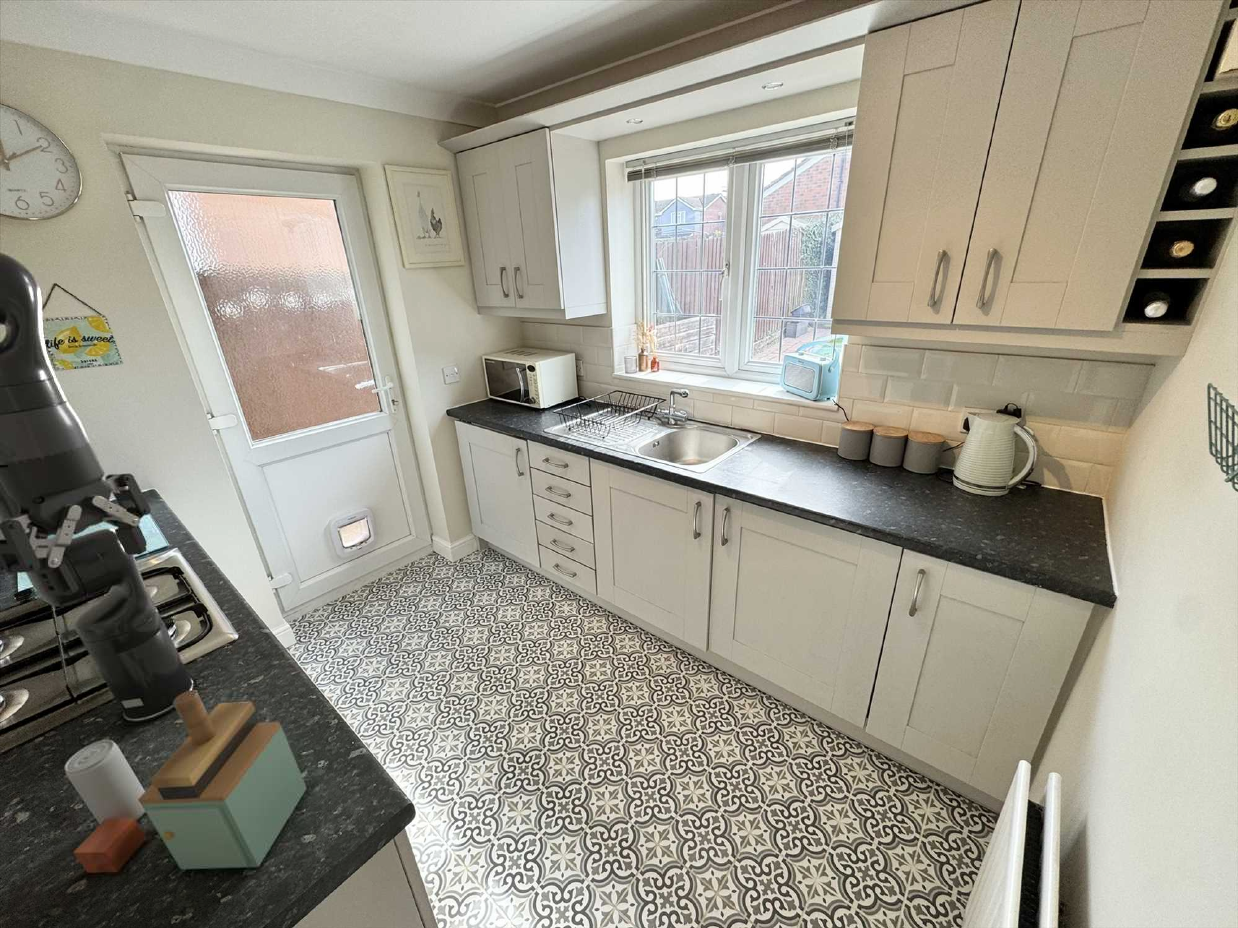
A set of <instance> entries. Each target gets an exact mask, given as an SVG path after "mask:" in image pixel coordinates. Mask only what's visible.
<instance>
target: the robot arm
mask: <svg viewBox="0 0 1238 928" xmlns="http://www.w3.org/2000/svg"><path fill="white" fill-rule="evenodd" d="M41 293H42V292H41V288H40V285H39V283H38V280H37V278H36V277H35V276H34V274H33V273H32V272H31V270H30V269H28V267H26V266H25V265H24V264H23V263H22V262H20V261H19V260H17V259H16V258H14V257H12V256H10V255H8V254H6V253H3V252H0V326H4V327H5V335H4V337H3V339H2V340H1V341H0V564H1V566H2V568H3V571H4V572H5V573H7V574H18V573H25V574H26V576H27V578H28V580H29V582H30V583H31V585H32V587H33V588H34V590H35V592H36V593H37V594H38V596H39V597H40V598H41V599H42V600H43V601H44V602H45V603H47V604H48V605H50V606H53V607H64V606H67V605H70V604H73V603H75V602H78V601H80V600H82V599H86V598H87V597H91V596H94V595H95V594H98V593H102V592H103V591H105V590H106V589H108V588H110V589H109V592H108V593H107V594H106V595H105V596H104V595H103V596H104V597H103V596H102V598H100V600H99V601H97V602H96V603H95V604H93V605H92V606H90V607H89V608H88V609H86V611H84V612H83V613H81V615H80V616H79V617H78V618H77V620H76V621H75V624H74V628H75V631H76V633H77V635H78V637H79V639H80V640H81V642H82V644H83V645H84V647H85V649H86V651H87V652H88V654H89V656H90V658H91V659H92V661H93V663H94V665H95V666H96V668H97V670H98V671H99V674H100V675H101V677H102V678H103V680H104V682H105V684H106V686H107V687H108V689H109V691H110V692H111V694H112V696H113V698H114V700H115V702H116V703H117V706H118V707H119V708H120V710H121V712H122V715H123V717H124V719H125V721H127V722H129V723H134V724H136V723H137V724H138V723H144V722H149V721H152V720H154V719H157V718H159V717H162V716H164V715H165V714H168V713H170V712H171V711H174V709H176V708H175V706H174V704H173V701H174V700H175V698H177V697H178V696H179V695H181V694H182V693H184V692H187V691H190V690H195V683H194V681H193V679H192V678H191V676H190V675H189V671H188V670H187V667H186V665H185V664H184V662H183V660H182V657H181V655H180V654H179V651H178V649H177V647H176V645H175V643H174V641H173V639H172V637H171V635H170V633H169V631H168V629H167V626H166V625H165V622H164V621H163V619H162V617H161V615H160V612H159V611H158V609H157V606H156V604H155V603H154V600H153V598H152V596H151V594H150V591H149V590H148V588H147V586H146V583H145V581H144V578H143V577H142V576H143V575H142V574H141V571H140V569H139V566H138V563H137V560H136V557H135V555H142V554H144V553H145V552H147V550H148V549H147V540H146V538H145V536H144V534H143V531H142V528H141V527H140V524H141V520H142V518H144V516H149V515H150V514H151V512H152V508H151V507H150V505H149V503H148V500H147V499H146V497H145V496H144V493H143V492H142V490H141V488H140V487H139V484H138V483H137V481H136V479H135V477H134V475H133V474H132V473H114V474H113V473H111V474H110V473H109V474H108V475H106V476H105V470H104V468H103V466H102V464H101V461H100V459H99V458H98V456H97V453H96V452H95V449H94V447H93V445H92V443H91V440H90V439H89V437H88V434H87V432H86V430H85V428H84V426H83V424H82V422H81V420H80V419H79V416H78V415H77V414H76V412H75V411H74V410H73V408H72V406H71V405H70V404H69V401H68V400H67V398H66V396H65V394H64V391H63V389H62V388H61V385H60V383H59V381H58V379H57V377H56V375H55V372H54V370H53V367H52V365H51V362H50V359H49V356H48V353H47V348H46V344H45V338H44V337H45V336H44V328H43V327H44V326H43V304H42V303H43V302H42V294H41ZM104 476H105V479H103V478H104ZM112 494H113V496H114V498H115V500H116V502H117V504H116V503H113V502H111V501H110V499H111V495H112ZM103 522H104V523H106V524H107V525H110V526H112V527H115V528H116V529H113V528H103V529H102V528H101V529H98V530H94V531H91V532H89V533H85V534H83V535H79V536H76V537H73V536H74V535H78V534H80V533H82V532H84V531H86V529H88V528H89V527H92V526H97V525H99V524H101V523H103ZM49 534H51V535H54V536H53V537H52V538H49Z"/></svg>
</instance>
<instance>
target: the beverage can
mask: <svg viewBox="0 0 1238 928" xmlns="http://www.w3.org/2000/svg"><path fill="white" fill-rule="evenodd" d="M64 771H65V775H66V777H67V778H68V780H69V781H70V783H71V784H72V786H73V787H74V788H75V790H76V792H77V793H78V794H79V796H80V797H81V799H82V801H83V802H84V804H85V805H86V806H87V808H88V809H89V810H90V813H91V814H92V816H93V817H94V818H95V819H96V822H98V824H99V825H100V824H101V823H102V822H103V821H104V820H105V819H132V818H134V819H135V820H136V821H137V822H138V820H139V819H140V818H142V817H143V815H144V814H146V812H145V810H144V809H143V807H142V805H141V804H140V802H139V800H138V799H139V798H140V797H141V796H142V795H143V794H144V792H145V791H146V790H145V789H144V788H143V785H142V784H141V783H140V781H139V779H138V778H137V775H136V774H135V773H134V771H133V769H132V767H131V765H130V764H129V763H128V761H127V759H126V758H125V755H124V753H122V750H121V748H120V747H119V746H118V744H117V743H116V742H115V741H113V740H112V739H102V740H98V741H95V742H93V743H90V744H89V745H87V746H84V747H83V748H82V749H79V750H78V751H77V752H76V753H74V754H73V755H72V756H71V757H70V758H69V759H67V761H66V763H65V765H64Z"/></svg>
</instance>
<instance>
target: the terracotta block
mask: <svg viewBox="0 0 1238 928" xmlns="http://www.w3.org/2000/svg"><path fill="white" fill-rule="evenodd" d="M146 840H147V835H146V834H145V833H144V831H143V830H142V827H141V826H140V824H139V823H138V820H137V821H136V820H135V819H134V818H132V819H105V820H104V821H103V822H102V823H101V824H99V825H98V826H97V827H96V828H95V829H94V830H93V831H91V833H90V834H89V835H88V837H86V839H85V840H84V841H83V842H82V843H81V844H80V845H78V847H77V848H76V849H75V850H74V851H73V852H72V853H73V855H74V857H76V859H77V860H78V861H79V863H80V864H81V865H82V867H83V868H84V870H85V871H86V872H87V873H118V872H119V871H120V870H121V869H122V868H123V867H124V865H125V864H126V863H127V862H128V861H129V860H130V858H132V856H133V855H134V854H135V853H136V851H138V849H139V848H140V847H141V846H142V844H144V842H145V841H146Z"/></svg>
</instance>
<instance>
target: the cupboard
mask: <svg viewBox="0 0 1238 928" xmlns="http://www.w3.org/2000/svg"><path fill="white" fill-rule="evenodd" d="M304 780H305V779H304V778H303V775H302V773H301V771H300V769H299V766H298V764H297V762H296V758H295V756H294V753H293V751H292V749H291V747H290V745H289V742H288V739H287V737H286V734H285V732H284V730H283V727H282V725H281V722H280V721H275V722H274V721H273V722H258V723H257V724H256V725H255V726H254V728H253V729H252V730H251V732H250V733H249V734H248V735H247V737H246V738H245V739H244V740H243V742H242V743H241V744H240V746H239V747H238V748H237V749H236V751H235V752H234V753H233V754H232V756H231V757H230V758H229V760H228V761H227V762H226V763H225V765H224V766H223V767H222V768H221V770H220V771H219V772H218V774H217V775H216V776H215V777H214V779H213V780H212V781H211V782H210V784H209V785H208V786H207V788H206V789H205V790H204V791H203V793H202V794H201V795H200V796H199V798H190V799H173V800H164V799H163V798H162V796H161V794H160V793H159V791H158V789H157V788H155V787H154V785H153V783H152V784H151V785H150V786H149V787H148V788H147V789H146V790H144V791H145V792H144V794H143V795H142V796H141V797H140V798H139V799H138V800H139V802H140V804H141V805H142V807H143V809H144V810H145V814H146V815H147V817H148V819H149V820H150V822H151V823H152V825H153V827H154V829H155V830H156V832H157V833H158V836H159V837H160V838H161V840H162V841H163V843H164V845H165V847H166V848H167V850H168V851H169V853H170V854H171V856H172V858H173V859H174V861H175V863H176V864H177V866H178V867H179V869H180V870H203V869H205V870H206V869H207V870H208V869H238V868H259V867H260V866H261V863H262V862H263V860H264V859H265V858H266V855H267V854H268V853H269V851H270V849H271V847H272V846H273V844H274V842H275V841H276V839H277V838H278V836H279V835H280V833H281V831H282V830H283V828H284V826H285V825H286V823H287V821H288V820H289V818H290V817H291V815H292V813H293V811H294V810H295V808H296V807H297V805H298V804H299V802H300V801H301V799H302V797H303V796H304V793H305V792H306V790H307V788H308V787H307V785H306V783H305V781H304Z"/></svg>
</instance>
